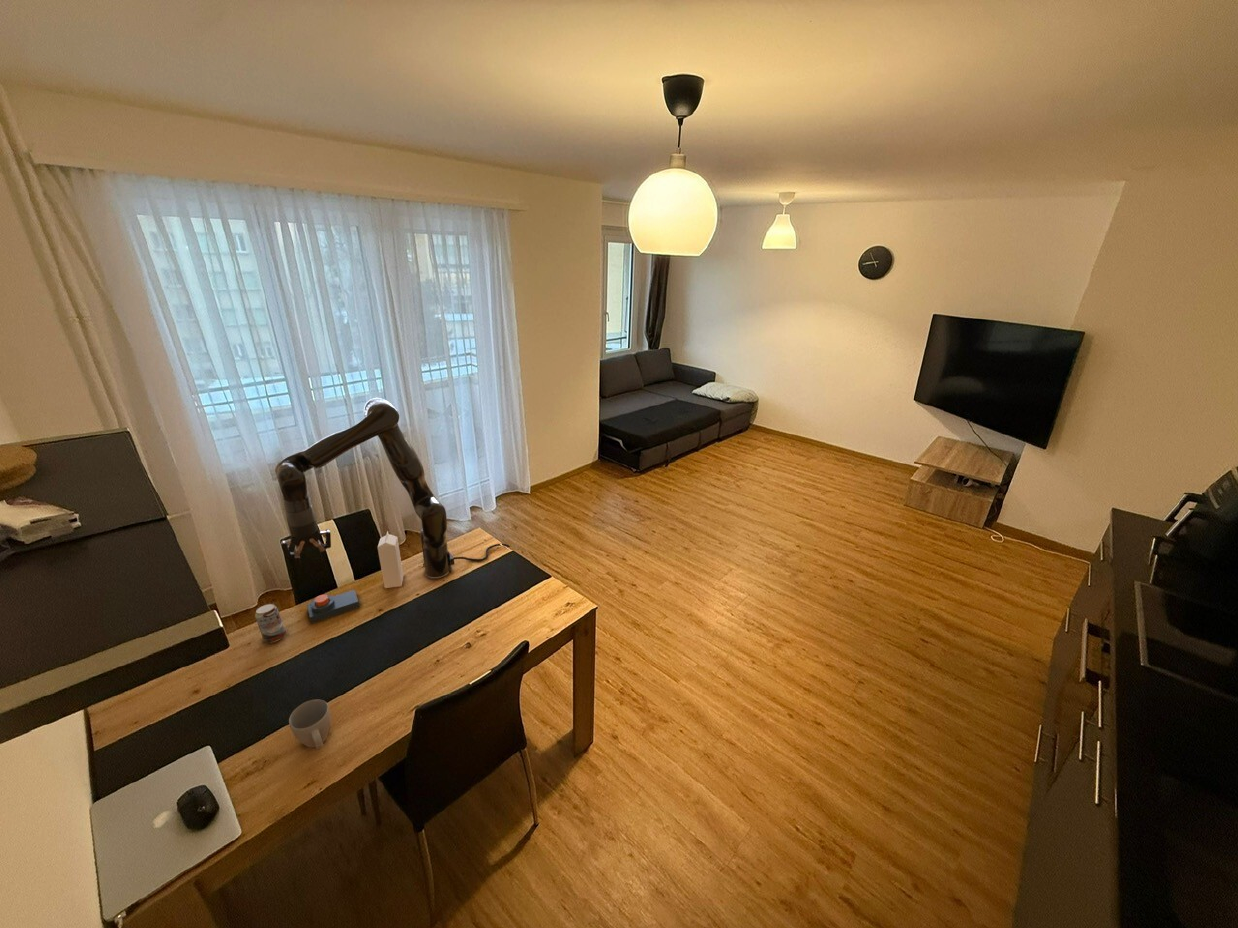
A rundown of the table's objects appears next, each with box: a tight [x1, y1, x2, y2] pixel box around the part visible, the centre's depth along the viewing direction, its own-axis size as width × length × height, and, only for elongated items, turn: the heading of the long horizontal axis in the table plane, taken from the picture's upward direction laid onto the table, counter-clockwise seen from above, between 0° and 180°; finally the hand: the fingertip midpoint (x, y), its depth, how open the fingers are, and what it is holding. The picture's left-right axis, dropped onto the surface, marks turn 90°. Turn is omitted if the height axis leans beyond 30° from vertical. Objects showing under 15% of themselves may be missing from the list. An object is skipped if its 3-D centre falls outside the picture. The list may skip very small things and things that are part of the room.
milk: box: [377, 530, 404, 589], centre depth 181 cm, size 6×6×22 cm
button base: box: [306, 589, 360, 624], centre depth 170 cm, size 15×8×4 cm, turn 127°
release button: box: [314, 594, 329, 607], centre depth 167 cm, size 4×4×2 cm
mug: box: [288, 698, 332, 751], centre depth 125 cm, size 12×9×10 cm
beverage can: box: [254, 603, 286, 644], centre depth 155 cm, size 6×7×12 cm
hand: (312, 562), depth 160 cm, fingers open, 6 cm apart
